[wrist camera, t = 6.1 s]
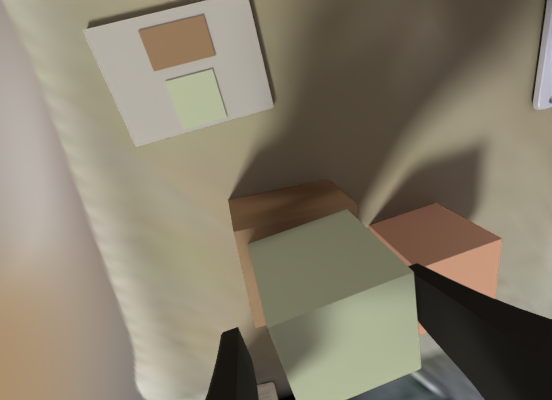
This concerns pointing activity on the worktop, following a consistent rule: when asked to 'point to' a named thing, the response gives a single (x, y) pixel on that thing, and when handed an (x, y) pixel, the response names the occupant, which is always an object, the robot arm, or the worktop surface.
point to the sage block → (336, 307)
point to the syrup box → (267, 391)
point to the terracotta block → (444, 246)
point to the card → (182, 68)
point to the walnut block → (280, 222)
